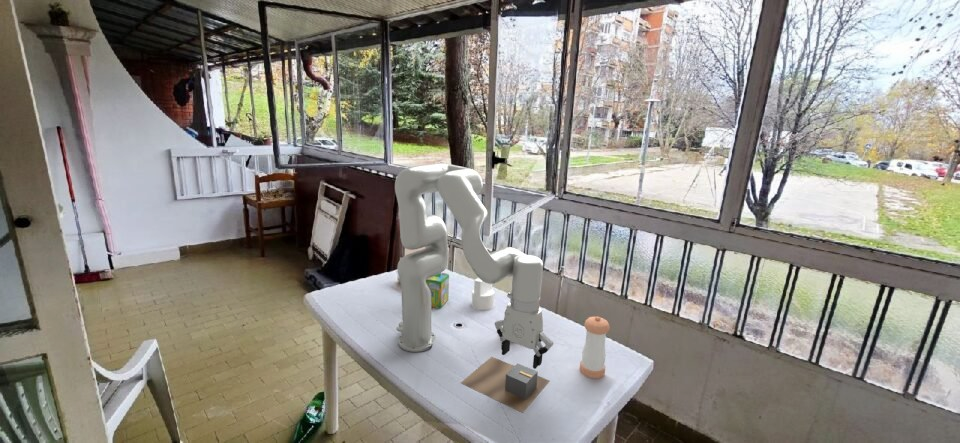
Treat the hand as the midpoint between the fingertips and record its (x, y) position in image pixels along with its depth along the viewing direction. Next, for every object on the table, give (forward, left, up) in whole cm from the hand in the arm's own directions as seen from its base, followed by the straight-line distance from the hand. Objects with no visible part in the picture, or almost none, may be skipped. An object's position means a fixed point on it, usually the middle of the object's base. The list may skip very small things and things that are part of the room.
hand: (520, 359), depth 111 cm
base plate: (-4, 0, -11) cm, 11 cm away
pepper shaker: (+14, +20, -11) cm, 26 cm away
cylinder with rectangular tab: (-38, +38, -11) cm, 55 cm away
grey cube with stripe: (+1, 0, -9) cm, 9 cm away
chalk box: (-55, +28, -11) cm, 63 cm away
